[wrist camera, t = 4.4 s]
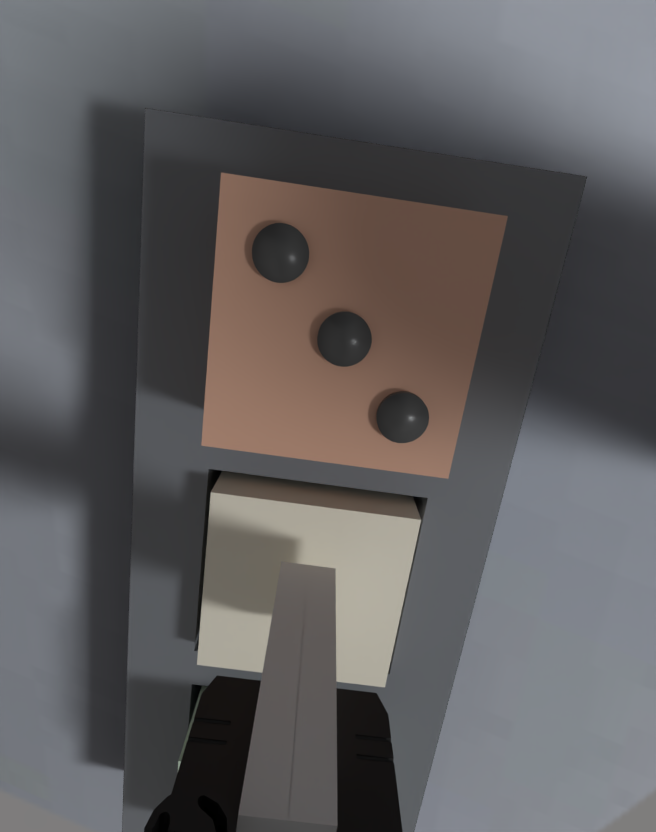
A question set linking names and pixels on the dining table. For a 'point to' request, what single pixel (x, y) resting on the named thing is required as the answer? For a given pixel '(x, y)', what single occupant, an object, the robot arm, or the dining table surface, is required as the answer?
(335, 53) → the dining table surface
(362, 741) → the robot arm
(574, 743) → the dining table surface
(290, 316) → the button three
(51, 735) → the dining table surface
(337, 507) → the button one
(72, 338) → the dining table surface
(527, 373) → the keypad board
